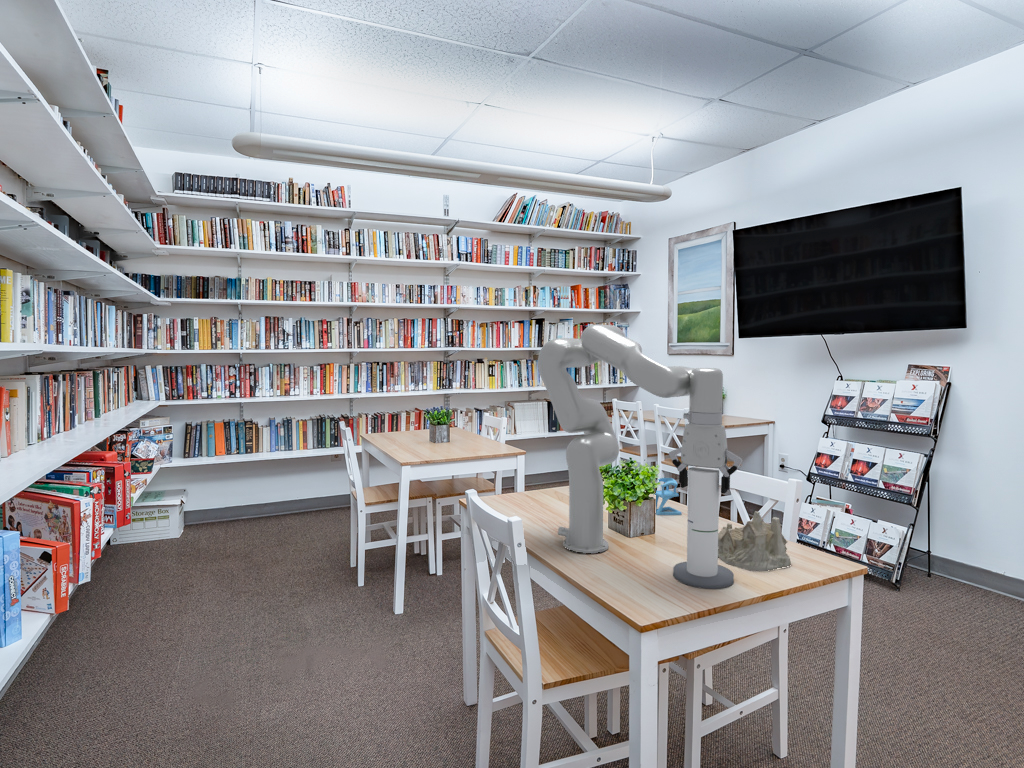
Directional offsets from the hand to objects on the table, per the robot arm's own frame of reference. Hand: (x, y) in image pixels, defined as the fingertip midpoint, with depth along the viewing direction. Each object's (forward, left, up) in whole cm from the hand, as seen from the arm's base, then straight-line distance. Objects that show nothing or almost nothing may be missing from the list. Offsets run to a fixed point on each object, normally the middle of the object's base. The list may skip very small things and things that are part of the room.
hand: (703, 489), depth 141 cm
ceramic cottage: (+8, +19, -22) cm, 30 cm away
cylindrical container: (0, 0, -20) cm, 20 cm away
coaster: (0, 0, -22) cm, 22 cm away
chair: (-28, +51, -22) cm, 62 cm away
